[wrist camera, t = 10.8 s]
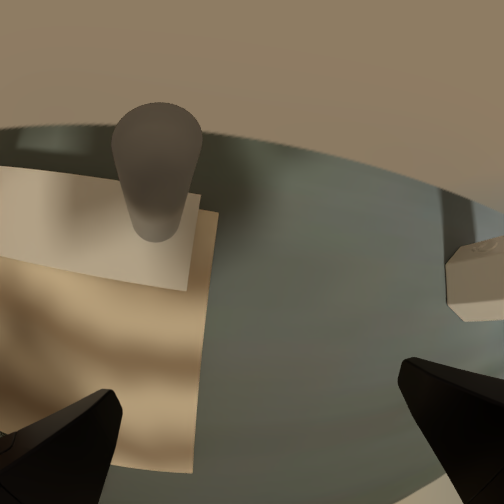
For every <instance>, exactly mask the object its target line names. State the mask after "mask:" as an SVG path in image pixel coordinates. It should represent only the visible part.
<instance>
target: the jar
mask: <svg viewBox="0 0 504 504" xmlns="http://www.w3.org/2000/svg"><path fill="white" fill-rule="evenodd" d="M445 269H446V285H447V305H448V306H449V307H450V308H451V309H452V310H453V311H454V312H455V313H456V314H457V315H458V316H459V317H460V318H461V319H462V320H463V321H464V322H469V321H492V320H504V236H500V237H496V238H492V239H489V240H485V241H481V242H477V243H473V244H469V245H465V246H461V247H460V248H459V249H458V250H457V251H456V252H455V254H454V255H453V256H452V257H451V258H450V260H449V261H448V262H447V263H446V264H445Z"/></svg>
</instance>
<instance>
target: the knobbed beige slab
mask: <svg viewBox="0 0 504 504" xmlns="http://www.w3.org/2000/svg"><path fill="white" fill-rule="evenodd" d="M202 143H203V136H202V131H201V128H200V125H199V124H198V122H197V120H196V119H195V118H194V117H193V115H192V114H190V113H189V112H188V111H186V110H185V109H183V108H181V107H179V106H177V105H173V104H170V103H150V104H145V105H142V106H139V107H137V108H135V109H133V110H131V111H130V112H128V113H127V114H126V115H125V116H124V117H123V118H122V119H121V120H120V121H119V122H118V124H117V125H116V127H115V129H114V131H113V134H112V139H111V149H112V154H113V158H114V162H115V166H116V170H117V173H118V177H119V181H117V180H111V179H104V178H97V177H90V176H83V175H76V174H68V173H60V172H52V171H44V170H35V169H26V168H16V167H6V166H0V256H2V257H6V258H11V259H15V260H19V261H24V262H28V263H33V264H37V265H42V266H46V267H51V268H56V269H61V270H65V271H70V272H75V273H81V274H86V275H91V276H96V277H102V278H107V279H113V280H118V281H124V282H130V283H135V284H141V285H147V286H154V287H160V288H166V289H173V290H179V291H187V284H188V276H189V269H190V262H191V255H192V248H193V241H194V235H195V229H196V222H197V216H198V210H199V204H200V198H201V195H199V194H193V193H188V192H189V188H190V185H191V181H192V178H193V174H194V171H195V168H196V164H197V161H198V158H199V155H200V152H201V148H202Z"/></svg>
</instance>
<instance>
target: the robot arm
mask: <svg viewBox="0 0 504 504" xmlns="http://www.w3.org/2000/svg"><path fill="white" fill-rule="evenodd" d="M398 386H399V388H400V390H401V393H402V395H403V397H404V399H405V401H406V403H407V405H408V408H409V410H410V412H411V414H412V416H413V418H414V420H415V421H416V423H417V425H418V426H419V428H420V430H421V431H422V433H423V435H424V436H425V438H426V439H427V441H428V443H429V444H430V446H431V448H432V449H433V451H434V453H435V454H436V456H437V458H438V460H439V461H440V463H441V465H442V466H443V468H444V470H445V472H446V473H447V475H448V477H449V478H450V480H451V482H452V484H453V485H454V487H455V489H456V491H457V493H458V494H459V496H460V498H461V500H462V502H463V503H464V504H504V380H503V379H499V378H494V377H490V376H486V375H482V374H477V373H473V372H469V371H465V370H461V369H457V368H454V367H450V366H446V365H442V364H438V363H435V362H431V361H427V360H424V359H420V358H417V357H411V358H408V359H405V360H403V362H402V364H401V368H400V372H399V376H398ZM122 416H123V409H122V406H121V404H120V402H119V400H118V398H117V396H116V394H115V392H114V391H113V390H112V389H100V390H98V391H96V392H94V393H92V394H90V395H88V396H86V397H84V398H82V399H81V400H79V401H77V402H75V403H73V404H71V405H69V406H67V407H65V408H63V409H61V410H59V411H57V412H55V413H53V414H51V415H49V416H47V417H45V418H43V419H41V420H39V421H37V422H34V423H32V424H30V425H28V426H26V427H24V428H22V429H20V430H18V431H17V432H16V431H14V432H12V433H10V434H8V435H6V436H3V437H1V438H0V504H98V502H99V499H100V495H101V492H102V489H103V486H104V482H105V479H106V476H107V473H108V470H109V467H110V464H111V461H112V458H113V455H114V452H115V448H116V444H117V440H118V435H119V430H120V425H121V420H122Z"/></svg>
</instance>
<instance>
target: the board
mask: <svg viewBox="0 0 504 504" xmlns="http://www.w3.org/2000/svg"><path fill="white" fill-rule="evenodd" d="M218 216H219V213H217V212H211V211H206V210H201V209H199V210H198V216H197V222H196V229H195V235H194V241H193V248H192V255H191V262H190V269H189V276H188V284H187V291H179V290H173V289H166V288H160V287H154V286H147V285H141V284H135V283H130V282H124V281H118V280H113V279H107V278H102V277H96V276H91V275H86V274H81V273H75V272H70V271H65V270H61V269H56V268H51V267H46V266H42V265H37V264H33V263H28V262H24V261H19V260H15V259H11V258H6V257H2V256H0V431H1V432H3V433H6V434H10V433H12V432H14V431H16V432H17V431H18V430H20V429H22V428H24V427H26V426H28V425H30V424H32V423H34V422H37V421H39V420H41V419H43V418H45V417H47V416H49V415H51V414H53V413H55V412H57V411H59V410H61V409H63V408H65V407H67V406H69V405H71V404H73V403H75V402H77V401H79V400H81V399H82V398H84V397H86V396H88V395H90V394H92V393H94V392H96V391H98V390H100V389H112V390H113V391H114V392H115V394H116V396H117V398H118V400H119V402H120V404H121V406H122V409H123V416H122V420H121V425H120V430H119V435H118V440H117V444H116V448H115V452H114V455H113V458H112V461H111V464H112V465H117V466H123V467H130V468H137V469H145V470H154V471H164V472H178V473H193V455H194V440H195V425H196V412H197V400H198V388H199V377H200V366H201V356H202V346H203V336H204V327H205V318H206V309H207V300H208V292H209V284H210V276H211V268H212V260H213V252H214V245H215V238H216V230H217V223H218Z"/></svg>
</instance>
